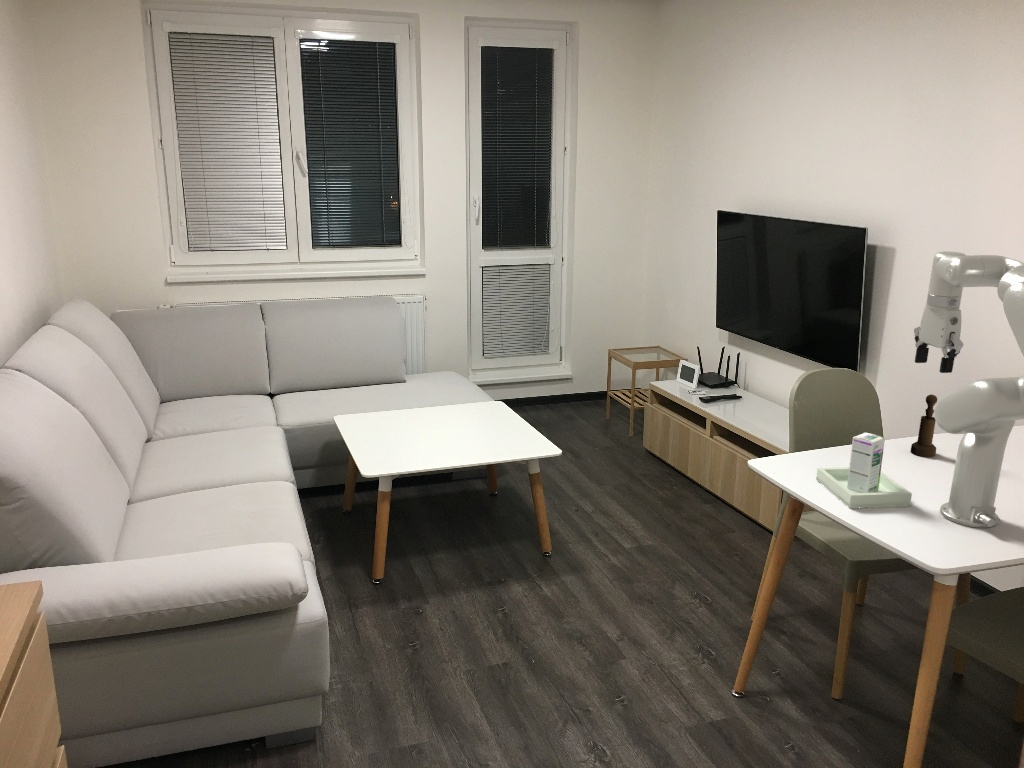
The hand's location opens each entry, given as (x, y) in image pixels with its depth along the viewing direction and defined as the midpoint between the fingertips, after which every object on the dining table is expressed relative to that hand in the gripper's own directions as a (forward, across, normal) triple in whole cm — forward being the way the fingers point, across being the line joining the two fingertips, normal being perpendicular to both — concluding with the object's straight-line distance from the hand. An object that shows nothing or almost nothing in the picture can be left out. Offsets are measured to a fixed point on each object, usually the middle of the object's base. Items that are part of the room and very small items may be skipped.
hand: (932, 367), depth 211 cm
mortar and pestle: (+32, +20, -17) cm, 42 cm away
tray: (+32, -3, +18) cm, 37 cm away
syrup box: (+31, -3, +18) cm, 36 cm away
